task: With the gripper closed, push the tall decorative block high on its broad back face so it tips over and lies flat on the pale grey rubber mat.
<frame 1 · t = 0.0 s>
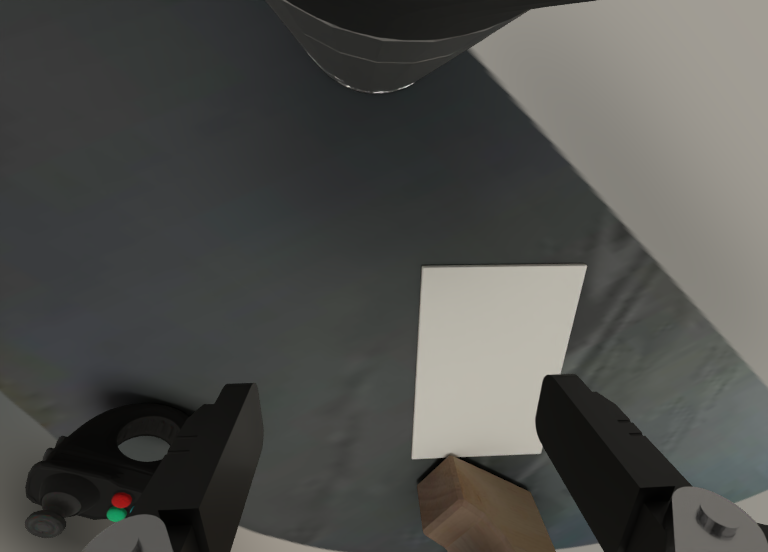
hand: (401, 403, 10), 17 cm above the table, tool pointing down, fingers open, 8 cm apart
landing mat: (488, 370, 32), on the table
decorative block: (473, 485, 37), on the table, touching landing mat
controller: (178, 417, 32), on the table
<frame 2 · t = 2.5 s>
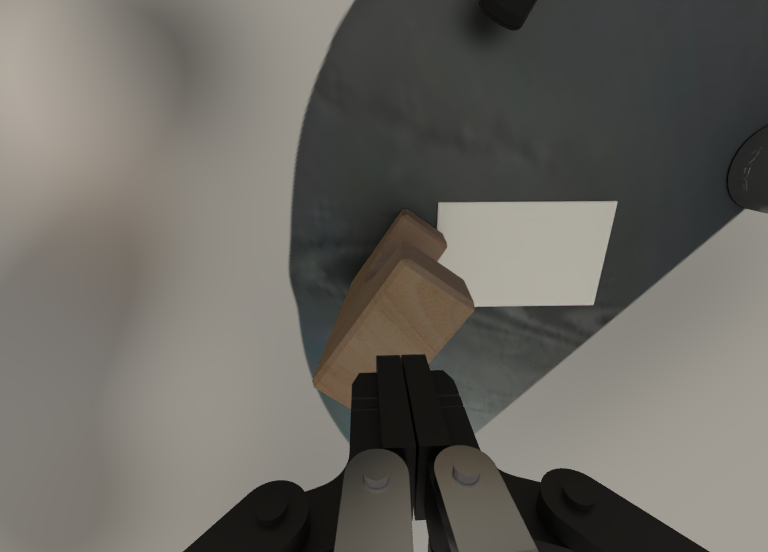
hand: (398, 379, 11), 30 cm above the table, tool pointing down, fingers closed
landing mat: (519, 255, 42), on the table
decorative block: (396, 259, 42), on the table, touching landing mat
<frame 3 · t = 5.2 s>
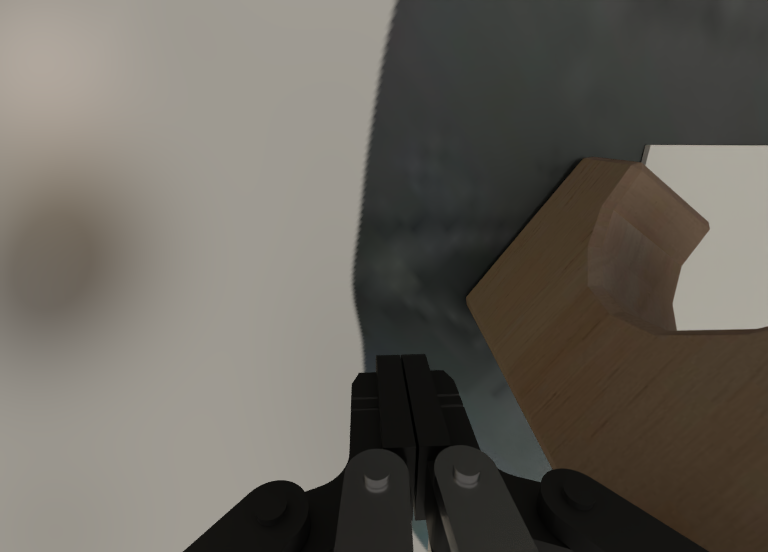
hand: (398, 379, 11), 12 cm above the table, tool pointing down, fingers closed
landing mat: (764, 248, 24), on the table
decorative block: (549, 254, 23), on the table, touching hand, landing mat
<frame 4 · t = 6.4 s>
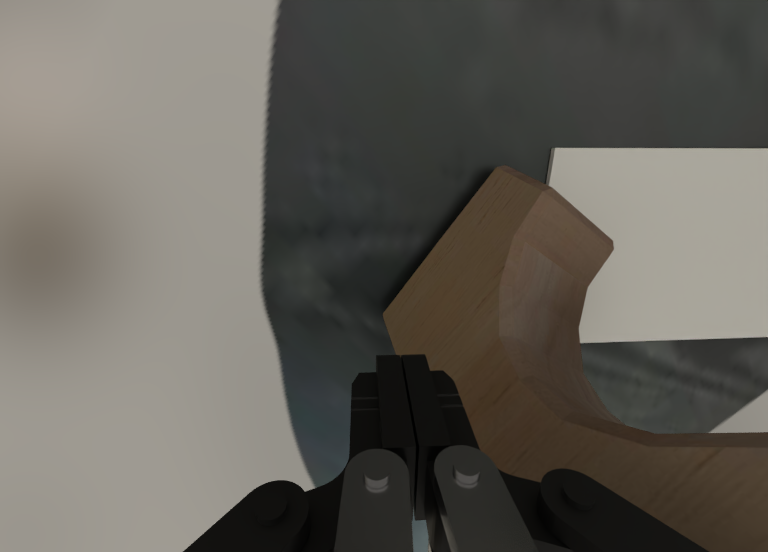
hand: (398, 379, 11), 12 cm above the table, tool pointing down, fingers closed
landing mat: (683, 251, 23), on the table
decorative block: (465, 262, 22), point 1 cm above the table, touching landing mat
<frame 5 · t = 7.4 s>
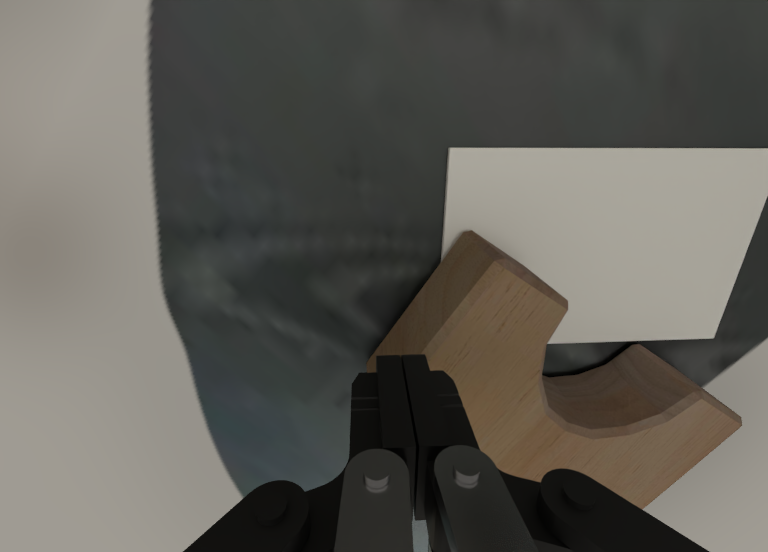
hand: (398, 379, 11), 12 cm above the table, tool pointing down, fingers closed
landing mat: (594, 253, 23), on the table
decorative block: (416, 319, 20), point 3 cm above the table, touching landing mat
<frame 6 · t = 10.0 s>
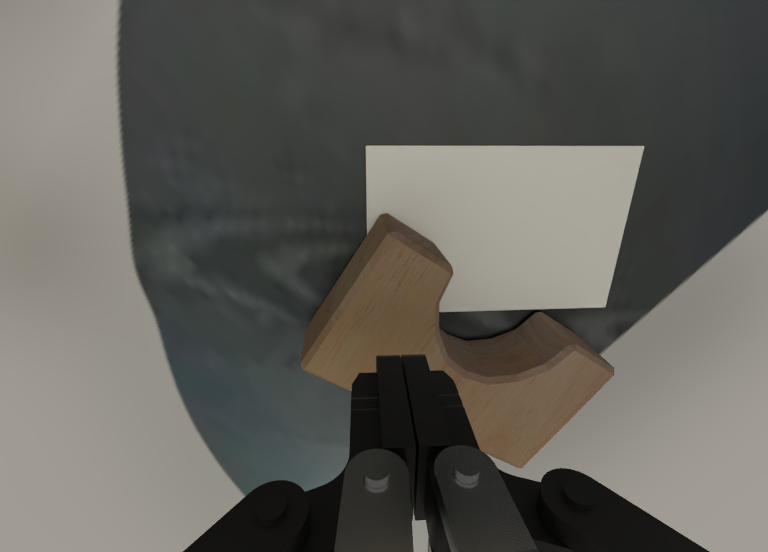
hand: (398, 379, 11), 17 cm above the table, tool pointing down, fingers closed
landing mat: (496, 233, 28), on the table
decorative block: (339, 285, 25), point 3 cm above the table, touching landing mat
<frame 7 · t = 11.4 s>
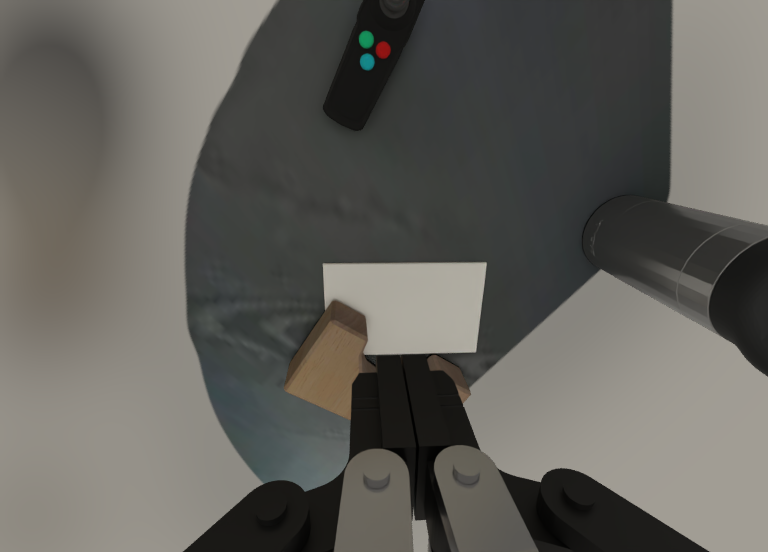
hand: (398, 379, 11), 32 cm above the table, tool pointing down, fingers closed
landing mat: (403, 309, 46), on the table
decorative block: (306, 342, 43), point 3 cm above the table, touching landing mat
controller: (370, 66, 36), on the table
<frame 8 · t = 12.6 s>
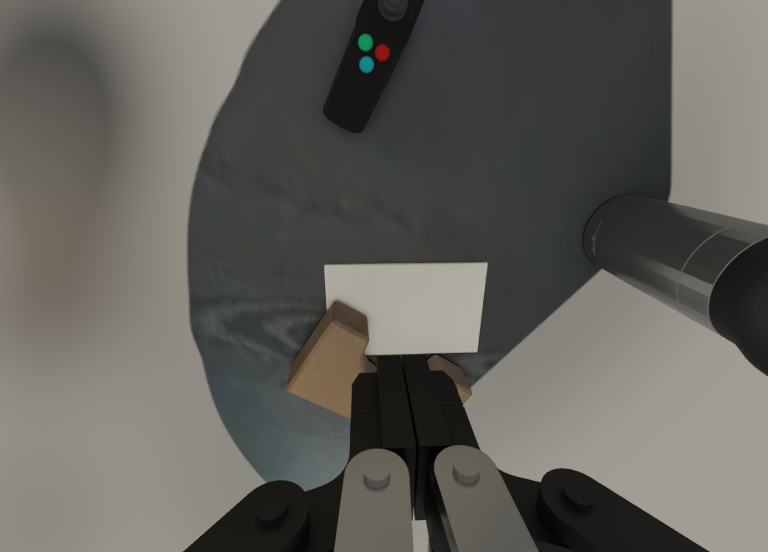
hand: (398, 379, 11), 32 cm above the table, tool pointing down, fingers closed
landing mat: (405, 309, 46), on the table
decorative block: (308, 343, 43), point 3 cm above the table, touching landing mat
controller: (369, 68, 37), on the table
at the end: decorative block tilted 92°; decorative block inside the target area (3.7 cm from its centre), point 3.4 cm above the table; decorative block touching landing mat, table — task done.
